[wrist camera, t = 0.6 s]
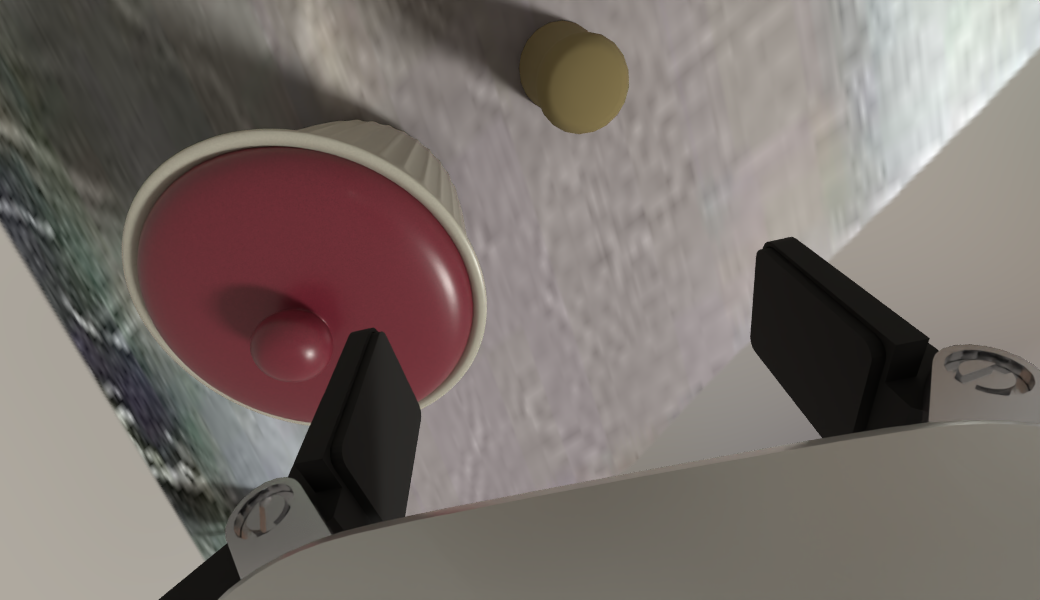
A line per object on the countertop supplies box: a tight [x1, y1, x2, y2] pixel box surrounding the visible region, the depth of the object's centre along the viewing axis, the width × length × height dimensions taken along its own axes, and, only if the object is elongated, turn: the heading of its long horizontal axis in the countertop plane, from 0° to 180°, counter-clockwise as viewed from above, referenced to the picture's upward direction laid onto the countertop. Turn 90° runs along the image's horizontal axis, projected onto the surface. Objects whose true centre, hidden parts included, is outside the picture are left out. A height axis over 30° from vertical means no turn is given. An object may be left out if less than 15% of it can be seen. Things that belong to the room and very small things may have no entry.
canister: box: [122, 120, 487, 426], centre depth 29 cm, size 18×18×21 cm
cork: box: [519, 20, 629, 134], centre depth 29 cm, size 6×6×11 cm
